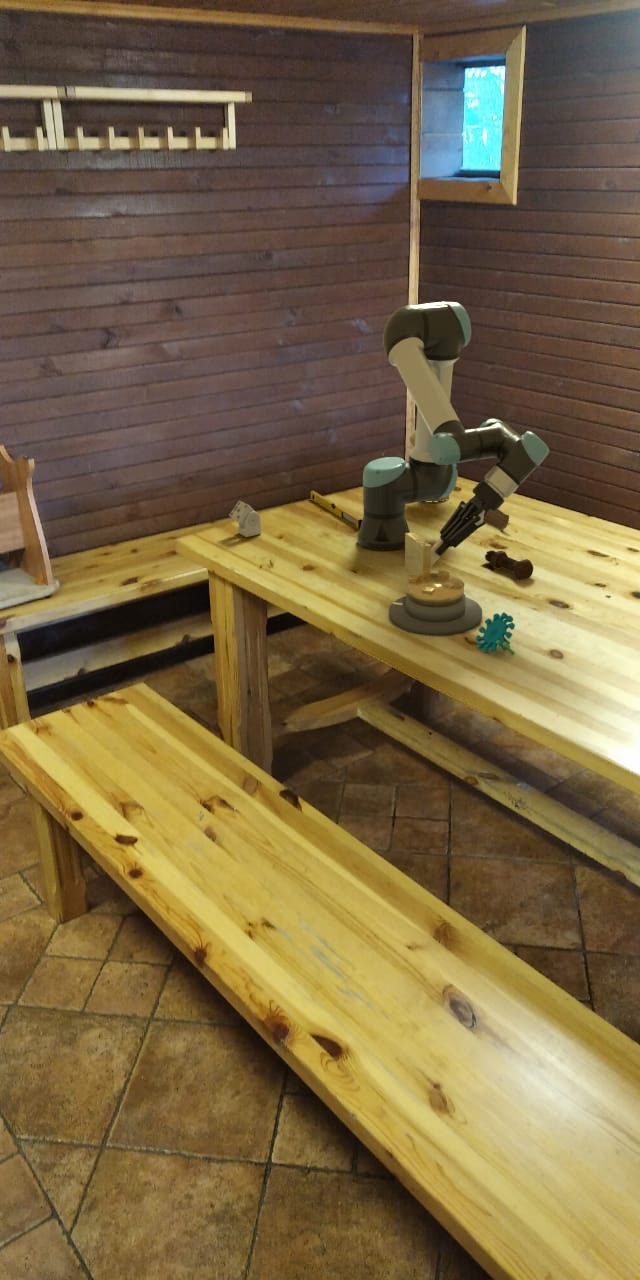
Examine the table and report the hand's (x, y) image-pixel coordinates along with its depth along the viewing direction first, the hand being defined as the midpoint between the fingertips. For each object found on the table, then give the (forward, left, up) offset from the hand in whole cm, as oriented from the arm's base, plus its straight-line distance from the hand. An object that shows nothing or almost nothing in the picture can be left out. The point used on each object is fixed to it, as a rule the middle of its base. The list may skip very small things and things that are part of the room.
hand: (426, 562), depth 238 cm
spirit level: (-68, +23, -10) cm, 73 cm away
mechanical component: (-69, -9, -10) cm, 70 cm away
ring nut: (+5, -4, -4) cm, 8 cm away
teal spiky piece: (+30, -6, -10) cm, 33 cm away
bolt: (-1, +29, -10) cm, 31 cm away
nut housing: (+9, -5, -10) cm, 14 cm away
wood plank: (-29, +52, -10) cm, 60 cm away
